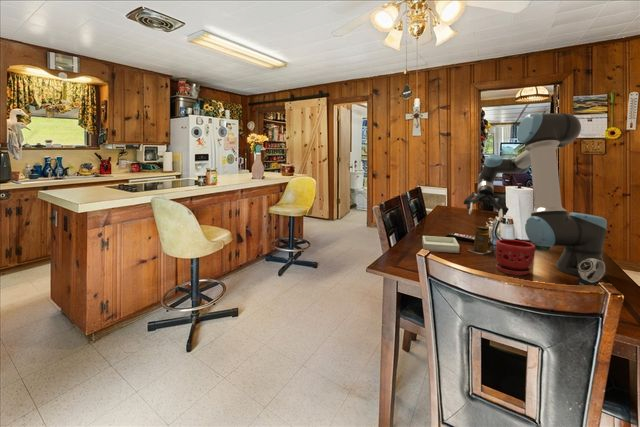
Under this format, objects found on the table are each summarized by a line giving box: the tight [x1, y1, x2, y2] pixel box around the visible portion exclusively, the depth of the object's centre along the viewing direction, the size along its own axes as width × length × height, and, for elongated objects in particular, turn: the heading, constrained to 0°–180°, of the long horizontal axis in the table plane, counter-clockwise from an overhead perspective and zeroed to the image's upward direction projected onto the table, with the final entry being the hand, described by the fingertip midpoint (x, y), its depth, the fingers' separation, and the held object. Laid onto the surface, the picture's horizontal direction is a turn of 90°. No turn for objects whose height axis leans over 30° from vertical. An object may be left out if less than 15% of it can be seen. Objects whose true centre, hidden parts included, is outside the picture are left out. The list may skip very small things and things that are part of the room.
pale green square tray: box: [421, 235, 460, 254], centre depth 159 cm, size 16×16×4 cm
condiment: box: [467, 225, 492, 255], centre depth 152 cm, size 7×8×12 cm
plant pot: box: [495, 238, 536, 276], centre depth 126 cm, size 13×13×12 cm
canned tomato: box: [530, 241, 551, 252], centre depth 156 cm, size 8×8×11 cm
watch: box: [576, 258, 606, 286], centre depth 108 cm, size 6×8×11 cm
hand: (485, 215), depth 152 cm, fingers open, 13 cm apart
